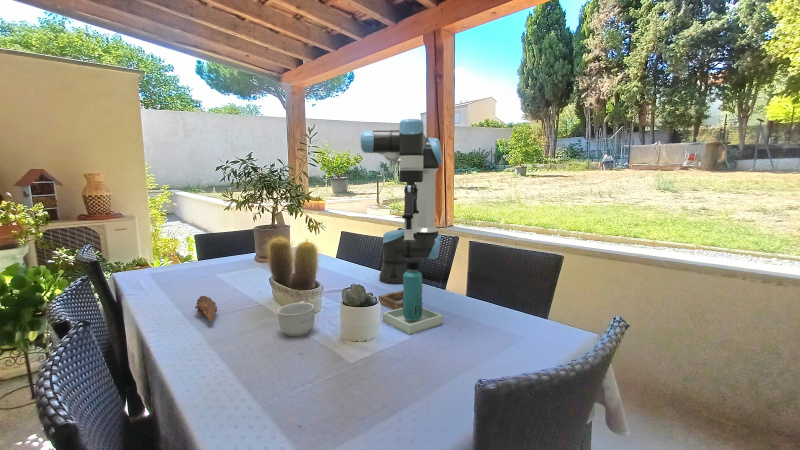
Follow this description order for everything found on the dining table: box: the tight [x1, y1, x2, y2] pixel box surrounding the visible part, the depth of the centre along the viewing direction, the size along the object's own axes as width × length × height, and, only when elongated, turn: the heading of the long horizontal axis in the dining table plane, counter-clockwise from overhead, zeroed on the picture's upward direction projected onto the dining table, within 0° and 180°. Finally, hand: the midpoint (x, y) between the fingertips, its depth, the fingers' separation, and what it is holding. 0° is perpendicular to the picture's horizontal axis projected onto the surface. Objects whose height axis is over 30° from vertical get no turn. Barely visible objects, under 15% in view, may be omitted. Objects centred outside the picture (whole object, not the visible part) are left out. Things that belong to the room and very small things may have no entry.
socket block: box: [378, 290, 403, 311], centre depth 144 cm, size 12×12×3 cm
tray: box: [382, 306, 444, 336], centre depth 126 cm, size 14×14×3 cm
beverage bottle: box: [402, 260, 424, 320], centre depth 125 cm, size 6×7×20 cm
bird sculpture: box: [194, 295, 218, 322], centre depth 132 cm, size 7×25×5 cm, turn 36°
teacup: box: [277, 300, 315, 337], centre depth 119 cm, size 14×11×8 cm
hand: (410, 236), depth 124 cm, fingers open, 13 cm apart
